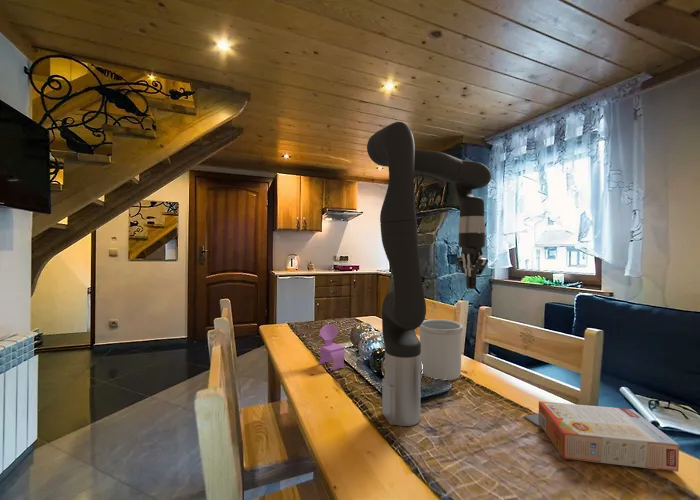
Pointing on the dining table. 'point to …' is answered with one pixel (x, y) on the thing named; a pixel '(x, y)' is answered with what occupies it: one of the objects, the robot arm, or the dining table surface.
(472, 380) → the dining table surface
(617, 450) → the cracker box
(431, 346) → the utensil holder
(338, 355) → the toy chair
